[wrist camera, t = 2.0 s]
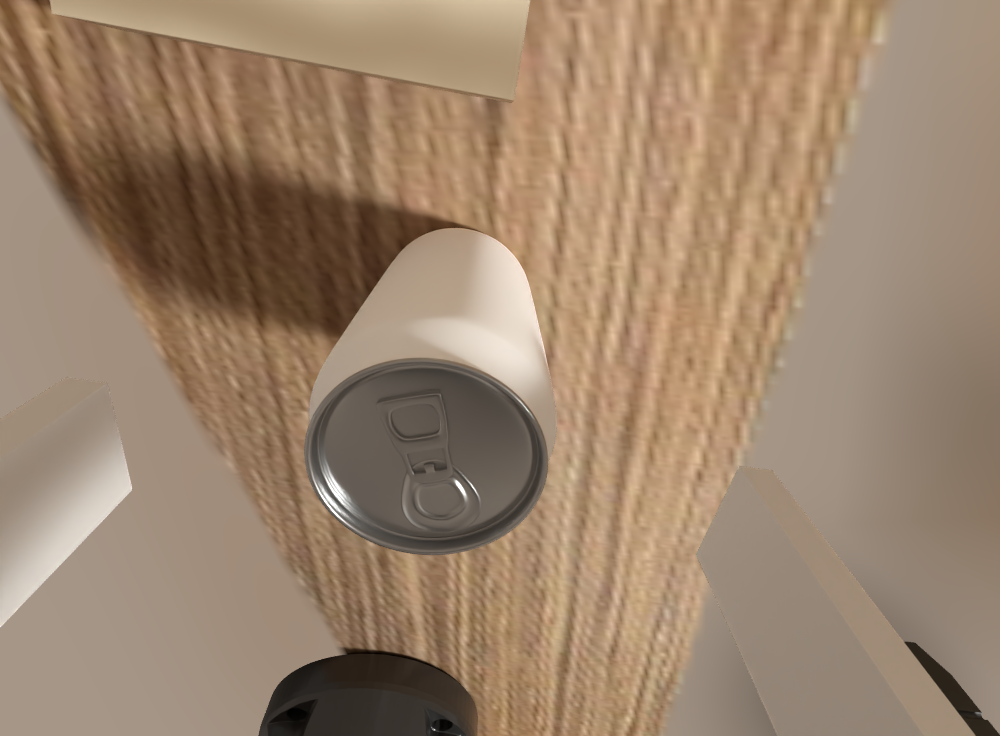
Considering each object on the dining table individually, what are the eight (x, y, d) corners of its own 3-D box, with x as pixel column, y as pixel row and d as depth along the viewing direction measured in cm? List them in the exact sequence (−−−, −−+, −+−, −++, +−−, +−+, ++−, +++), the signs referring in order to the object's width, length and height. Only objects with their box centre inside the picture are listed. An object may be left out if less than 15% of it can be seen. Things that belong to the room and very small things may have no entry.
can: (406, 373, 24) (337, 583, 13) (366, 240, 21) (236, 368, 10) (539, 351, 23) (581, 549, 13) (518, 212, 20) (547, 315, 10)
